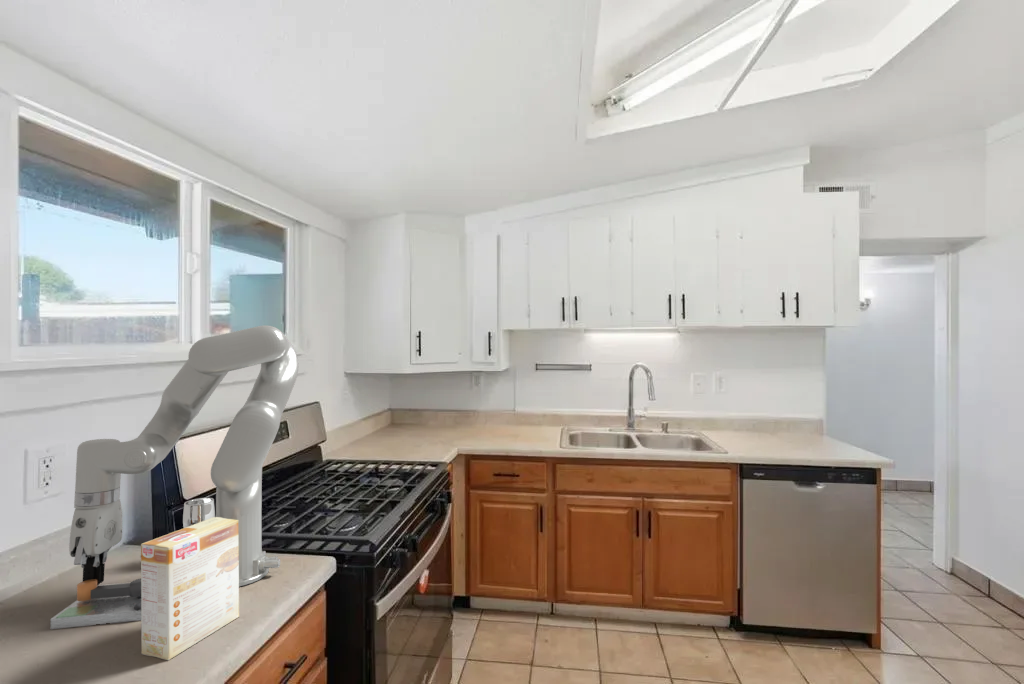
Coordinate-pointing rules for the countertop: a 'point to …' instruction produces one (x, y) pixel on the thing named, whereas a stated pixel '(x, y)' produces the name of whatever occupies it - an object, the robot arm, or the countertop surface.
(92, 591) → the breaker lever
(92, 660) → the countertop surface
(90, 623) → the panel
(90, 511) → the robot arm
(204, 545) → the coffeecake box
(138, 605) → the cord bundle
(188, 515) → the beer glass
